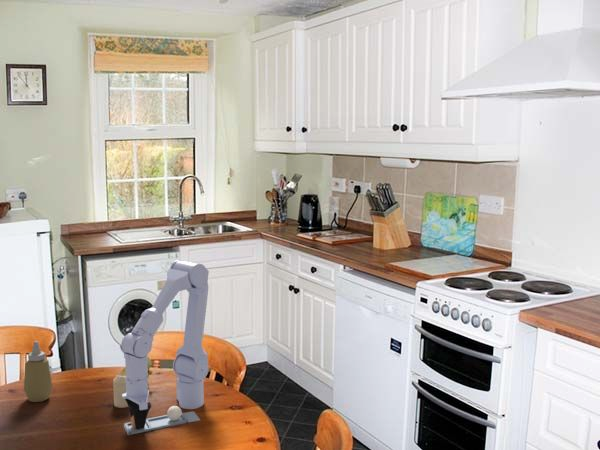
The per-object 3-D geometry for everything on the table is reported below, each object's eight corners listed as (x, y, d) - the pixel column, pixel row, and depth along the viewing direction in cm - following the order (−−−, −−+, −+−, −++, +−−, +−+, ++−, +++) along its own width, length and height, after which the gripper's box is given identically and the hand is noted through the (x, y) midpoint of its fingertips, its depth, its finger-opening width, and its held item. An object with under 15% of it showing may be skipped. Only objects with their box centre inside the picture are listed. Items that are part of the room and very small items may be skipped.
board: (123, 428, 171) (123, 423, 171) (193, 414, 180) (193, 409, 180) (128, 438, 165) (128, 433, 165) (200, 423, 174) (200, 418, 174)
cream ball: (165, 418, 175) (165, 405, 174) (179, 415, 177) (179, 402, 176) (169, 424, 171) (169, 410, 171) (183, 421, 173) (183, 407, 173)
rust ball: (129, 425, 170) (128, 412, 170) (143, 422, 172) (143, 409, 172) (132, 432, 167) (132, 418, 166) (147, 428, 169) (147, 415, 168)
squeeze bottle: (53, 402, 187) (50, 344, 185) (23, 406, 184) (20, 347, 182) (53, 391, 195) (50, 336, 192) (24, 395, 192) (21, 339, 189)
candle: (135, 402, 187) (134, 371, 186) (130, 410, 182) (129, 378, 181) (116, 402, 187) (115, 371, 186) (111, 410, 182) (110, 378, 180)
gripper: (116, 370, 172) (118, 416, 174) (127, 389, 159) (129, 439, 161) (141, 366, 175) (143, 411, 177) (154, 384, 162) (156, 433, 164)
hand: (138, 424), depth 169 cm, fingers closed on rust ball, 4 cm apart
